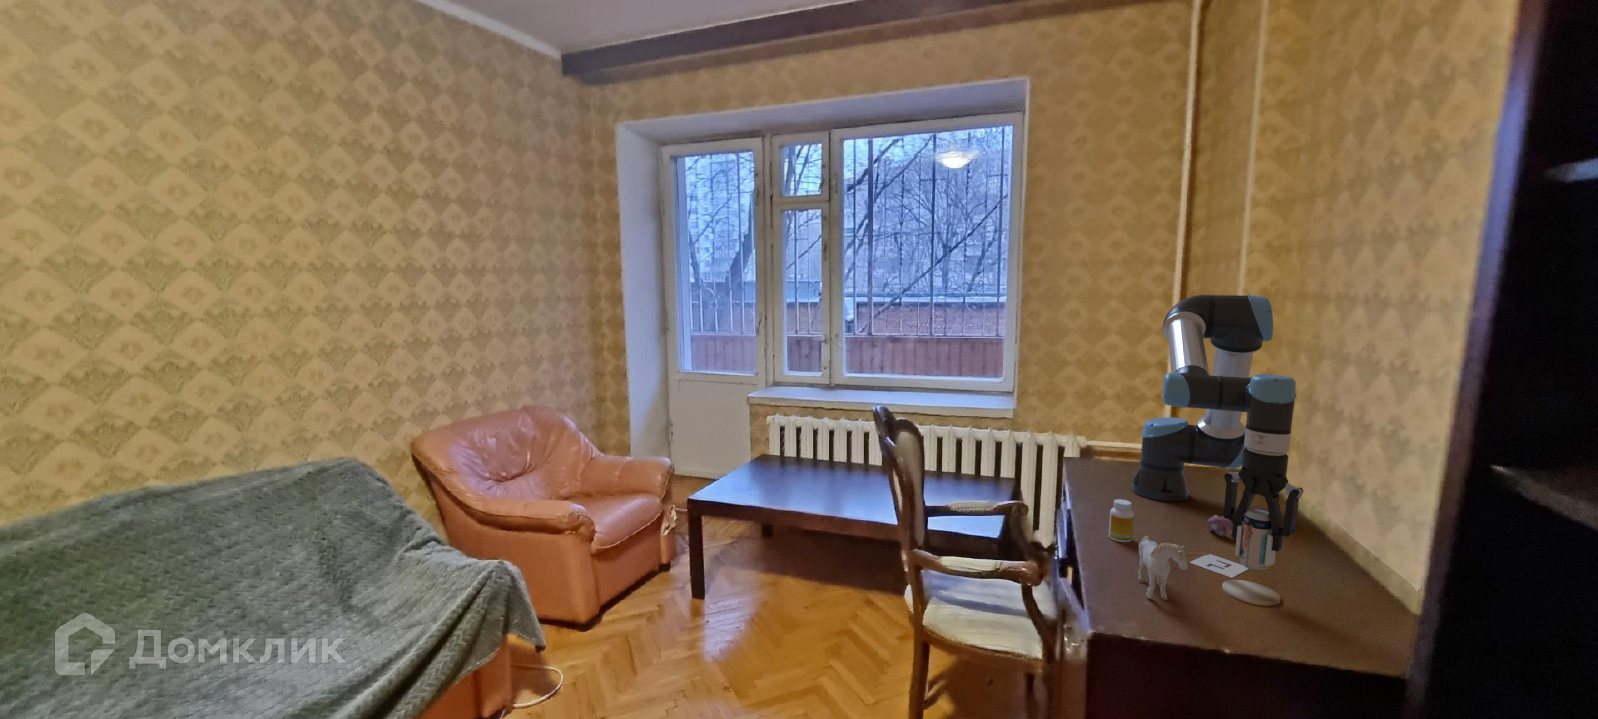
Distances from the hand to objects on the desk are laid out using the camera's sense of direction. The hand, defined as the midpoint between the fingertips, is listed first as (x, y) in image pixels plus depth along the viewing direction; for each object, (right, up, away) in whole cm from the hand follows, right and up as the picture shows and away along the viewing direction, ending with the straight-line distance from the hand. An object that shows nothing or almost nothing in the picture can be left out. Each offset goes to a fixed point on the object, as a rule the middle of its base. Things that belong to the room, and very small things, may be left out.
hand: (1254, 559), depth 134 cm
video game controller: (+15, -4, +30) cm, 34 cm away
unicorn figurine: (-17, -8, +1) cm, 19 cm away
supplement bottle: (-13, -4, +29) cm, 32 cm away
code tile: (+2, -6, +14) cm, 16 cm away
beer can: (0, -2, 0) cm, 2 cm away
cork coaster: (0, -8, +1) cm, 8 cm away
